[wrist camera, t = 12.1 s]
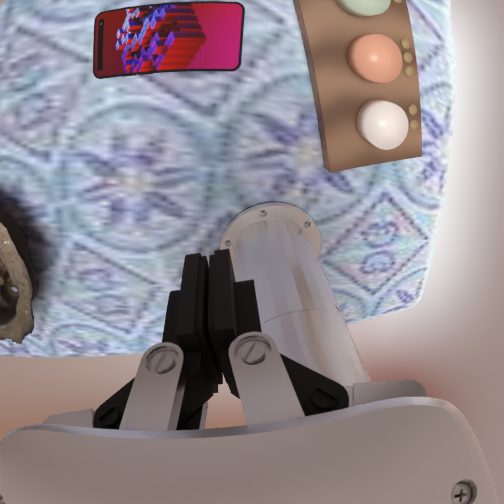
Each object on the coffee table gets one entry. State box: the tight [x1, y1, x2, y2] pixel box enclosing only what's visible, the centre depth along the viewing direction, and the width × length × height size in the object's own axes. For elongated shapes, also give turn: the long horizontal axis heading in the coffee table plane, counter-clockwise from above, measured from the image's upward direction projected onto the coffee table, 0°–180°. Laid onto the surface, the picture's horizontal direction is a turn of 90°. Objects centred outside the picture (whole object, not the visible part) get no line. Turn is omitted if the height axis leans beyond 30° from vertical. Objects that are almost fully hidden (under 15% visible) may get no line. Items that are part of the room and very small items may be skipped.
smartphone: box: [93, 1, 245, 79], centre depth 23 cm, size 8×1×15 cm
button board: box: [293, 0, 422, 173], centre depth 25 cm, size 24×12×2 cm, turn 13°
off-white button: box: [356, 99, 408, 150], centre depth 27 cm, size 5×5×2 cm
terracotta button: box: [347, 34, 403, 83], centre depth 23 cm, size 5×5×2 cm
